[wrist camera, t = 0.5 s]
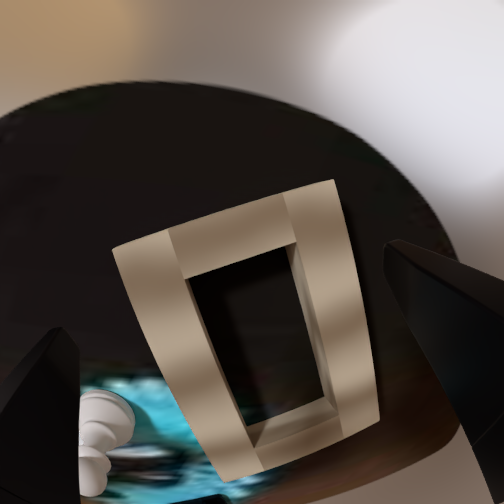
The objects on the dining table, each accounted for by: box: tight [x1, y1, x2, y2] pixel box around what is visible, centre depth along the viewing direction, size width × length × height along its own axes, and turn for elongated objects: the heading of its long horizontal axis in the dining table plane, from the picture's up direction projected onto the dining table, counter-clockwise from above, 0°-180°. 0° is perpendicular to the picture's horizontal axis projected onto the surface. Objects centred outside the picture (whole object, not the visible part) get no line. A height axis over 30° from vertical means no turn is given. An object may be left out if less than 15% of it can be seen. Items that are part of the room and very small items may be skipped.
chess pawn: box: [79, 389, 135, 497], centre depth 16 cm, size 5×5×9 cm
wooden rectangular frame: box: [112, 179, 380, 483], centre depth 21 cm, size 20×14×3 cm
